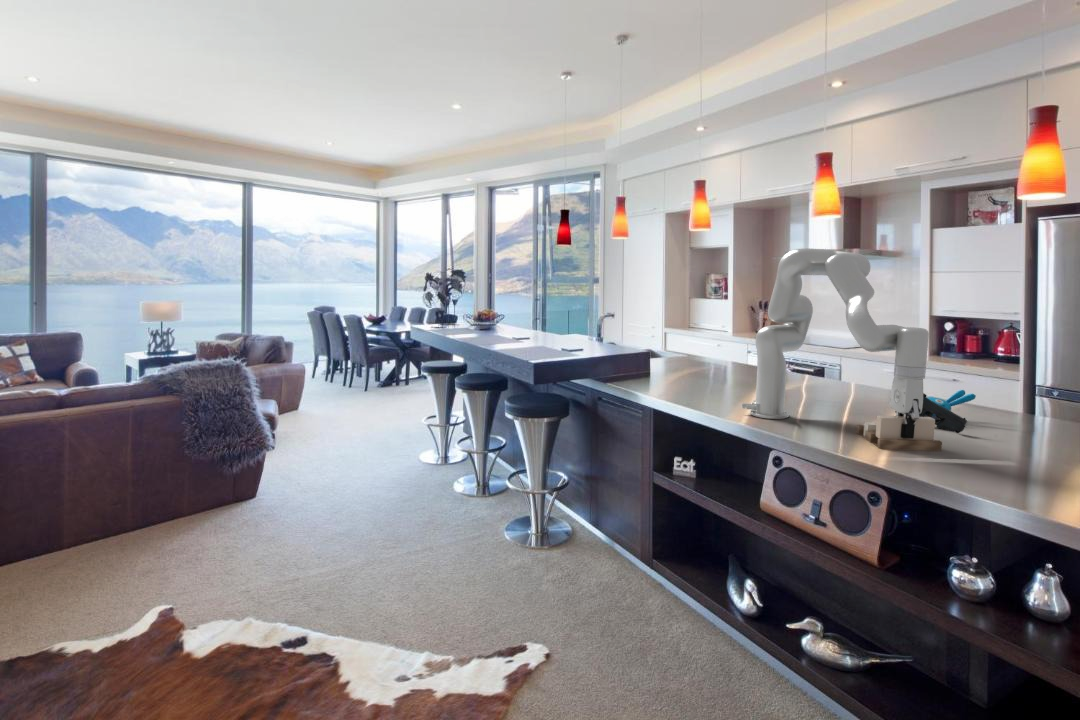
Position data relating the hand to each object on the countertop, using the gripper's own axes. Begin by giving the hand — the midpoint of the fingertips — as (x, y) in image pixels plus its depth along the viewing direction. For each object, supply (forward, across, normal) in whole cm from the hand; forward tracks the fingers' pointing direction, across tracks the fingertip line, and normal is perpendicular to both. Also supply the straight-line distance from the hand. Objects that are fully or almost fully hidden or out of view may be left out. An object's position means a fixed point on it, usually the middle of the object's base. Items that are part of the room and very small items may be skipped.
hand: (904, 435), depth 173 cm
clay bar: (+1, 0, 0) cm, 1 cm away
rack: (+4, -4, 0) cm, 6 cm away
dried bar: (+3, -9, 0) cm, 9 cm away
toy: (+4, -39, +27) cm, 48 cm away
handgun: (+4, -24, +18) cm, 31 cm away
